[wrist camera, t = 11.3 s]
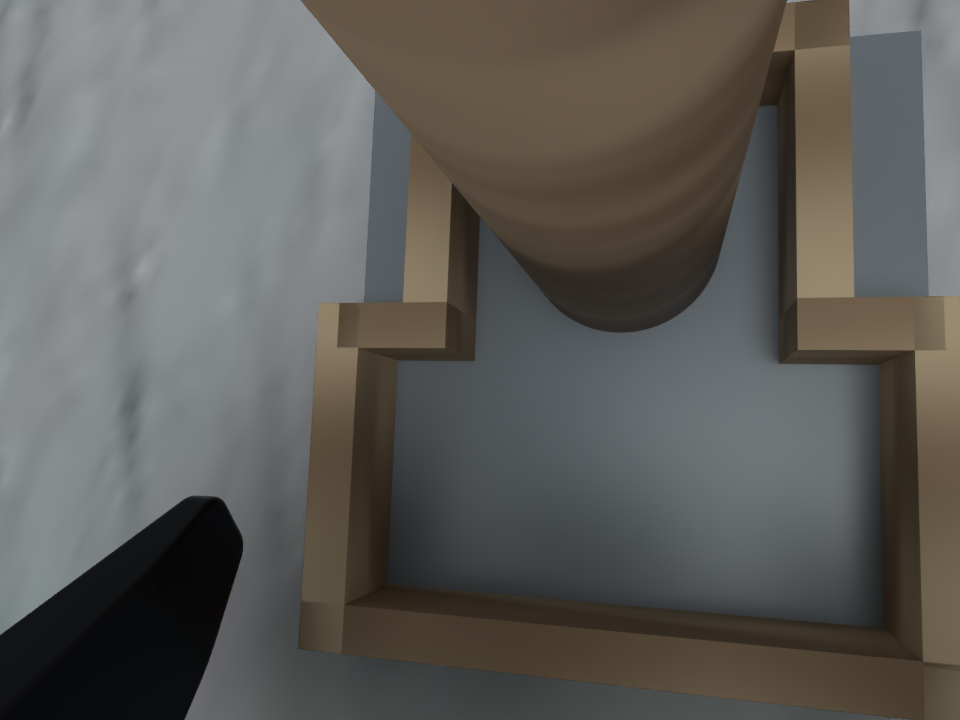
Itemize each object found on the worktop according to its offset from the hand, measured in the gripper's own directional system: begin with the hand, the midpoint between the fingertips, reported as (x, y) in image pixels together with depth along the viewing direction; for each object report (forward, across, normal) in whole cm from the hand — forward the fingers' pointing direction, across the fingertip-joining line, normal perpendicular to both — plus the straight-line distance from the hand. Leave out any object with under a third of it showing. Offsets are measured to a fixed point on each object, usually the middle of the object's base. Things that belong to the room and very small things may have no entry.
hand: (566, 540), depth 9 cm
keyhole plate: (+9, 0, +5) cm, 10 cm away
